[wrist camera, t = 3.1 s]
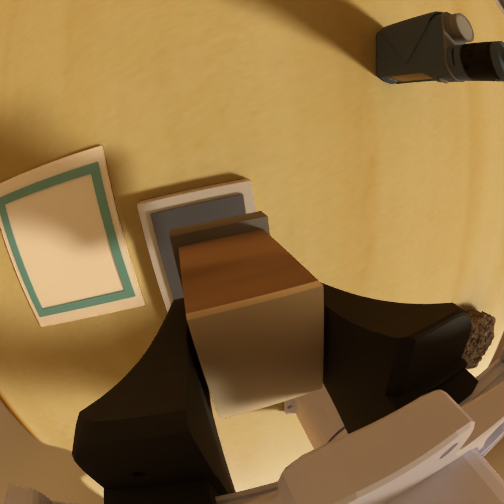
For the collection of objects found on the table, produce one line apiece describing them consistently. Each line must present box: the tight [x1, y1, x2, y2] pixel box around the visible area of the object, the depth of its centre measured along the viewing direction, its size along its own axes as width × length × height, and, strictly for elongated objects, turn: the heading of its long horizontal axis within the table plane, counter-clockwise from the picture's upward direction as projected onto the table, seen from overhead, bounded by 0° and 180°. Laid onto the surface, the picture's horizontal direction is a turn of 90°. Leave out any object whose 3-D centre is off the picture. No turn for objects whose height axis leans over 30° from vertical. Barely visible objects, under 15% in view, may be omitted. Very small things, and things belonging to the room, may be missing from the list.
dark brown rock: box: [462, 310, 495, 370], centre depth 31 cm, size 12×10×5 cm
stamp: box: [170, 211, 324, 419], centre depth 11 cm, size 5×4×6 cm
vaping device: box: [376, 12, 504, 84], centre depth 12 cm, size 3×5×12 cm, turn 177°
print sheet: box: [0, 145, 145, 327], centre depth 17 cm, size 11×9×1 cm
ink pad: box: [137, 178, 256, 313], centre depth 19 cm, size 9×7×1 cm
